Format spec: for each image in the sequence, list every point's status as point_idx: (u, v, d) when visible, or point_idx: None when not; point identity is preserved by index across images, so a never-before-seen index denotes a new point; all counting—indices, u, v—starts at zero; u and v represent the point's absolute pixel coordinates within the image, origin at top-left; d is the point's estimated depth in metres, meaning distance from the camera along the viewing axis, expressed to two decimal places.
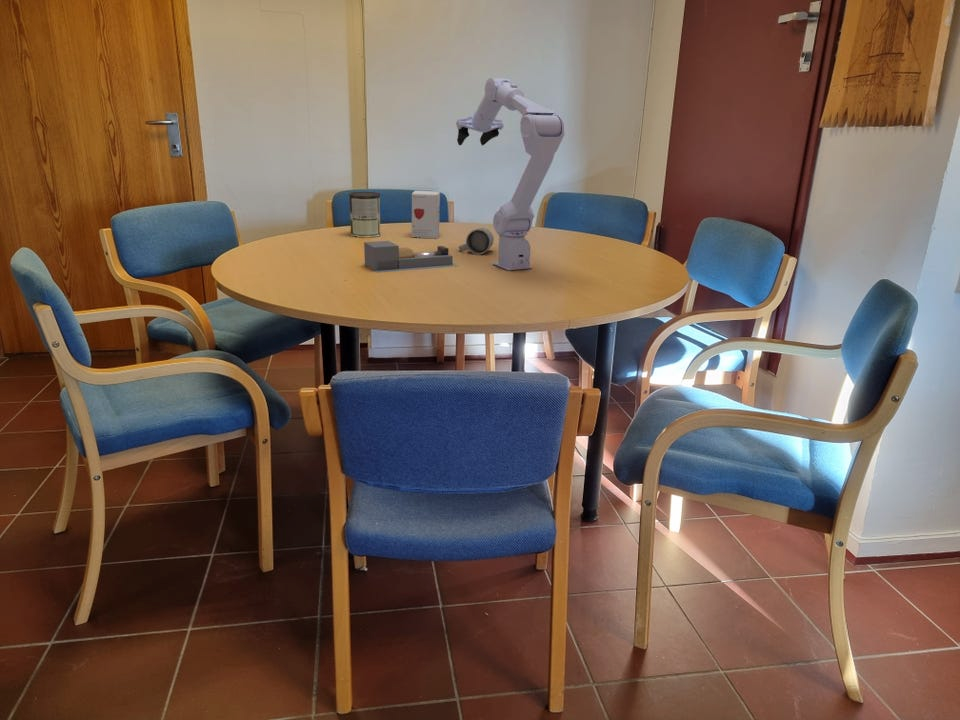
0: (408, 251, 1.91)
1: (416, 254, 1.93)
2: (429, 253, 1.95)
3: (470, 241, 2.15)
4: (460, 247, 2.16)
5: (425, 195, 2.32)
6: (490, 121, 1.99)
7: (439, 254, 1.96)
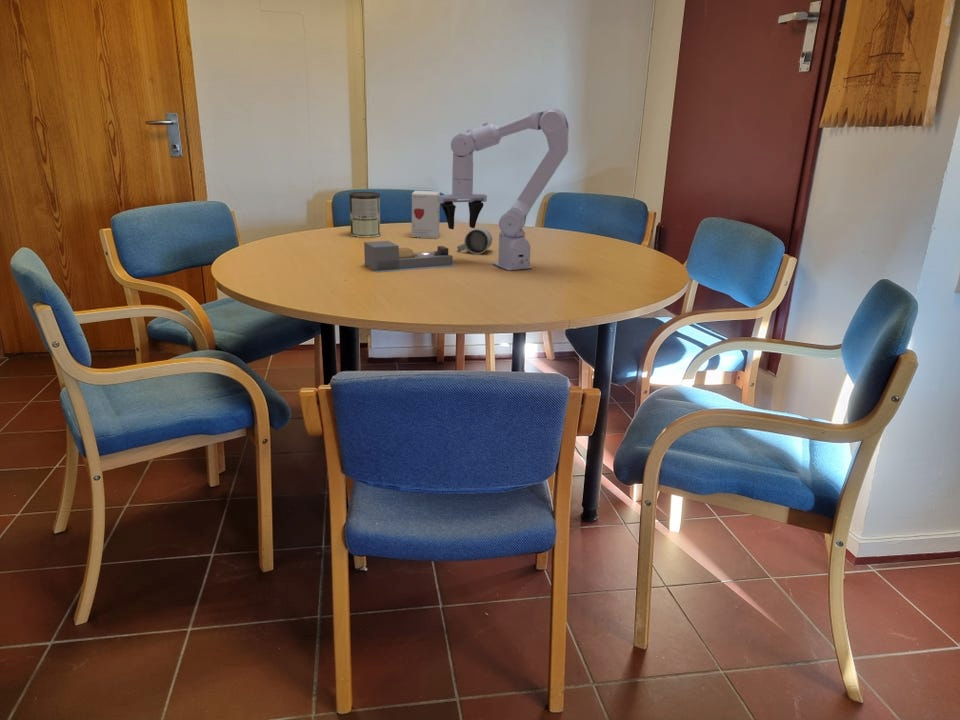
0: (408, 251, 1.91)
1: (416, 254, 1.93)
2: (429, 253, 1.95)
3: (468, 241, 2.15)
4: (459, 247, 2.16)
5: (425, 195, 2.32)
6: (468, 182, 1.92)
7: (439, 254, 1.96)
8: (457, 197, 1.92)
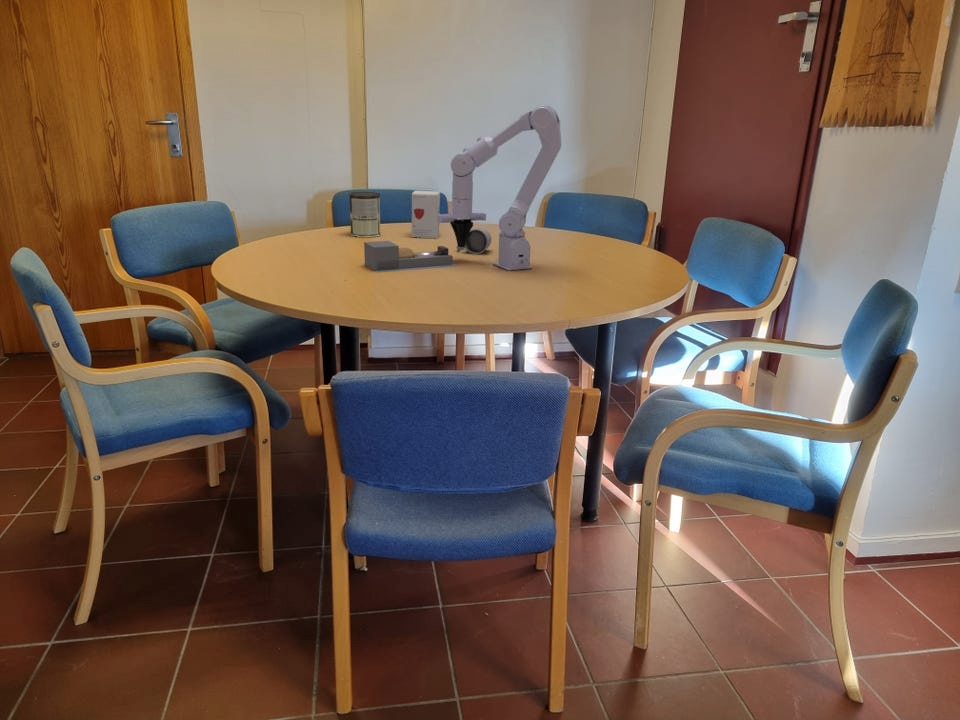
0: (408, 251, 1.91)
1: (416, 254, 1.93)
2: (429, 253, 1.95)
3: (468, 241, 2.15)
4: (458, 247, 2.16)
5: (425, 195, 2.32)
6: (468, 201, 1.93)
7: (439, 254, 1.96)
8: (457, 216, 1.94)
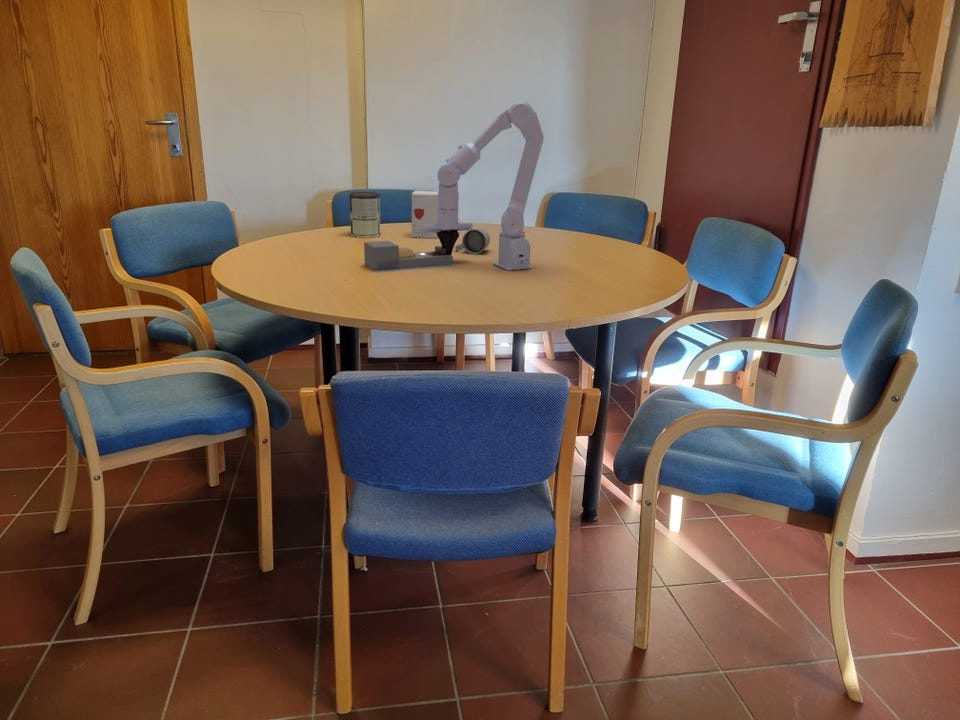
0: (408, 251, 1.91)
1: (413, 254, 1.93)
2: (426, 253, 1.95)
3: (466, 241, 2.16)
4: (456, 247, 2.16)
5: (425, 195, 2.32)
6: (454, 212, 1.92)
7: (436, 254, 1.96)
8: (442, 227, 1.93)
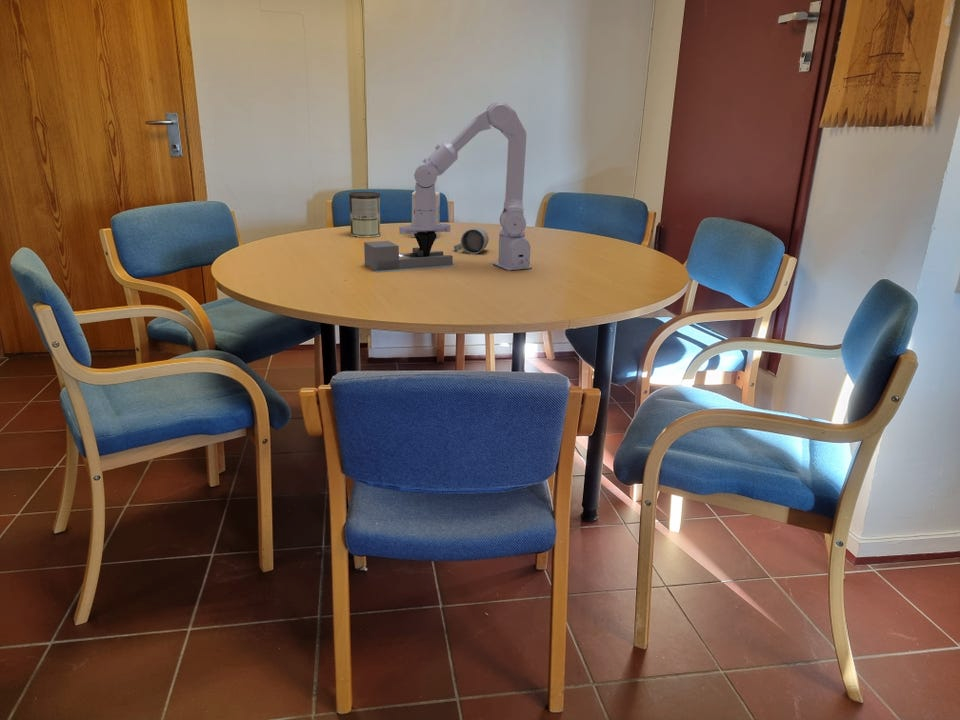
0: None
1: None
2: (403, 255, 1.92)
3: (465, 241, 2.16)
4: (455, 247, 2.16)
5: None
6: (430, 213, 1.89)
7: (414, 256, 1.93)
8: (419, 228, 1.90)
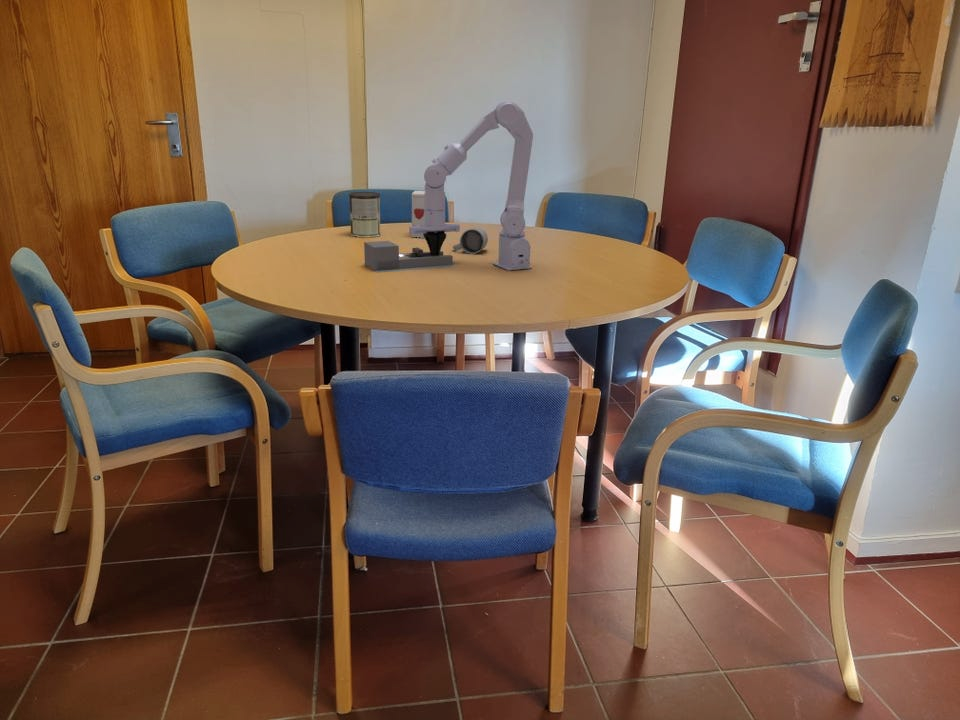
0: None
1: None
2: (403, 255, 1.92)
3: (464, 241, 2.16)
4: (454, 247, 2.16)
5: None
6: (440, 213, 1.91)
7: (414, 256, 1.93)
8: (429, 228, 1.91)
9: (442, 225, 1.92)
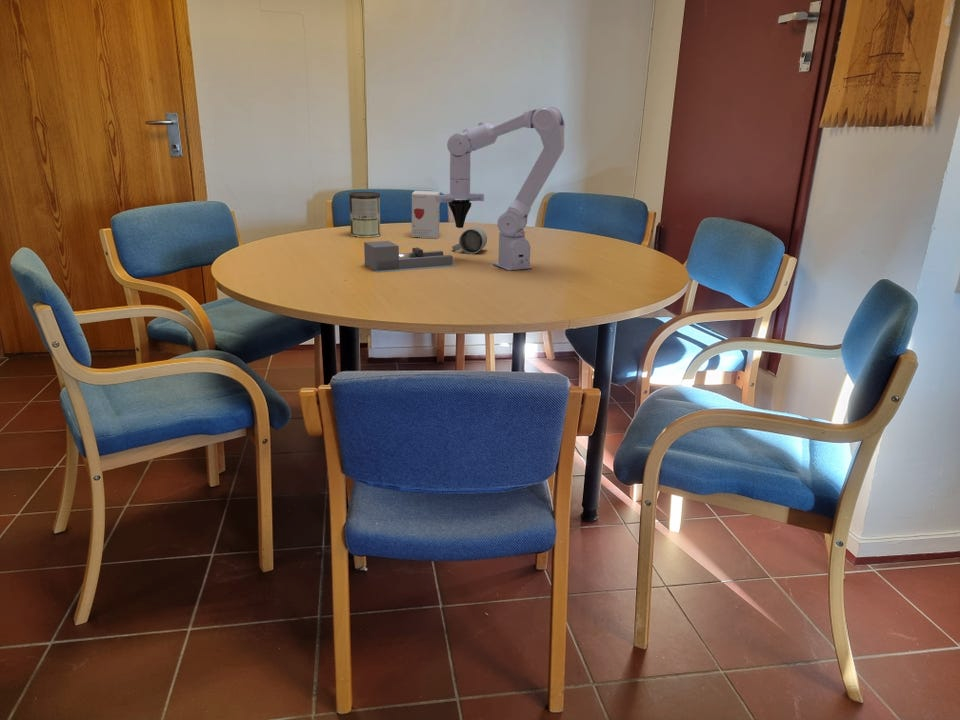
0: None
1: None
2: (403, 255, 1.92)
3: (463, 241, 2.16)
4: (453, 247, 2.16)
5: (425, 195, 2.32)
6: (466, 181, 1.93)
7: (414, 256, 1.93)
8: (455, 196, 1.94)
9: (467, 194, 1.95)
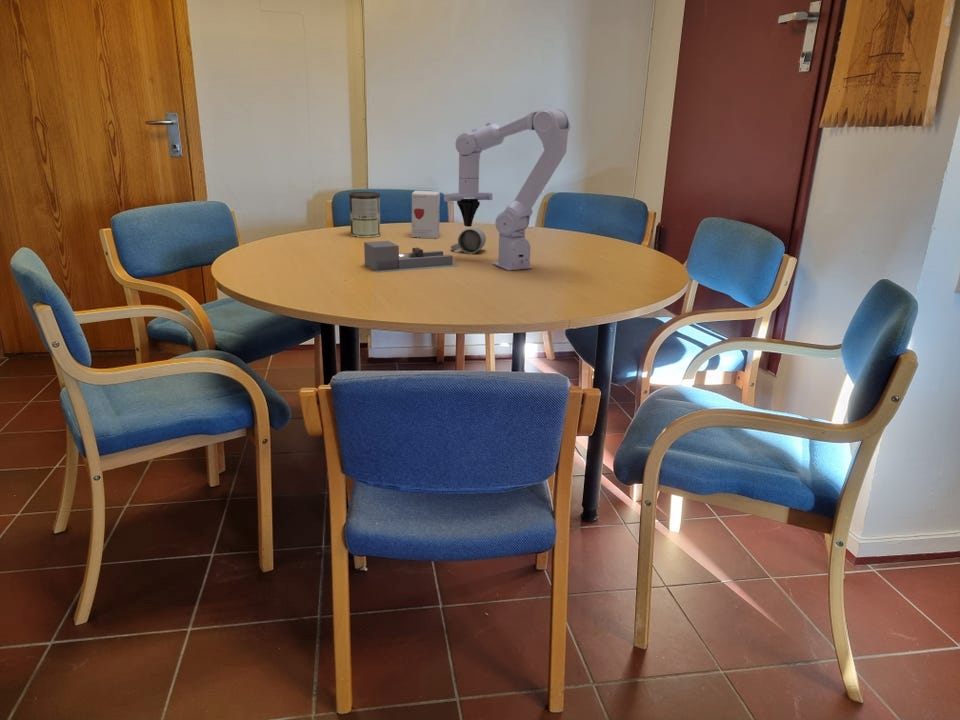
0: None
1: None
2: (403, 255, 1.92)
3: (462, 240, 2.16)
4: (452, 246, 2.16)
5: (425, 195, 2.32)
6: (474, 181, 1.95)
7: (414, 256, 1.93)
8: (463, 195, 1.96)
9: (476, 193, 1.97)
